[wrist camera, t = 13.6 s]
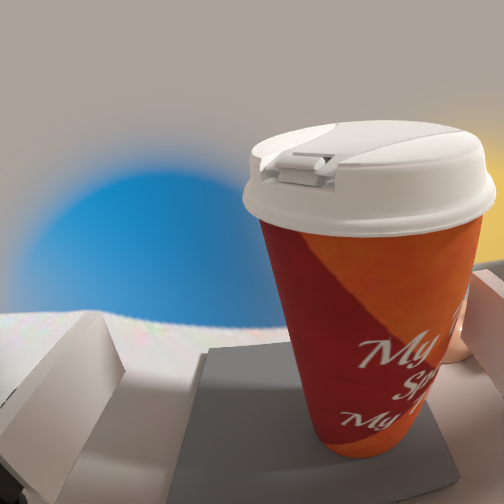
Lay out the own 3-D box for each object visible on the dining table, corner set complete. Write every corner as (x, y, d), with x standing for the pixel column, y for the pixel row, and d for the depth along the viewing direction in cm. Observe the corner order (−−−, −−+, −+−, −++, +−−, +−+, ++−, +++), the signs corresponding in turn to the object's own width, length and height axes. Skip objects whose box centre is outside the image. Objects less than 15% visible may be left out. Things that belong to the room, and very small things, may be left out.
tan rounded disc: (380, 335, 22) (383, 313, 22) (427, 305, 25) (430, 285, 25) (452, 376, 16) (461, 353, 16) (490, 333, 19) (496, 312, 19)
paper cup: (375, 503, 10) (470, 195, 3) (264, 425, 15) (181, 163, 9) (453, 391, 14) (507, 129, 7) (350, 344, 19) (335, 116, 13)
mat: (387, 334, 23) (388, 327, 22) (455, 482, 9) (459, 477, 9) (210, 354, 24) (209, 348, 24) (168, 514, 11) (164, 509, 11)
